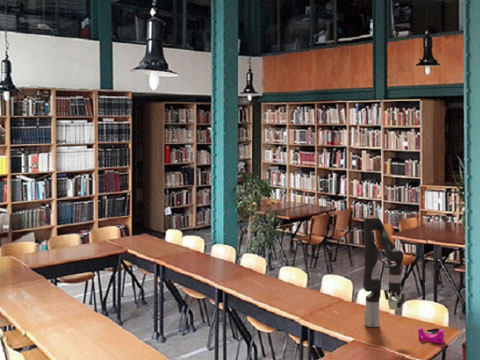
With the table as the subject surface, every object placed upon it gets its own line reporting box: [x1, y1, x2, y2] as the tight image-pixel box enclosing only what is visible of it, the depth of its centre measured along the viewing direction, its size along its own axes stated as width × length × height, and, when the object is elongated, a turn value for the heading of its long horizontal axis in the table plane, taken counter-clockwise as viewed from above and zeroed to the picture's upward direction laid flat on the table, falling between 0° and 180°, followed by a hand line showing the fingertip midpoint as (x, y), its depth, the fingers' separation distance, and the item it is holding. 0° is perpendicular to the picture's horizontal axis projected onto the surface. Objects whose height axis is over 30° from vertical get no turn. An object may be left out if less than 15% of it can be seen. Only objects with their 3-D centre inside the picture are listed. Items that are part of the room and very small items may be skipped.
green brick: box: [388, 297, 399, 311], centre depth 351 cm, size 4×9×5 cm, turn 151°
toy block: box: [417, 326, 445, 345], centre depth 351 cm, size 15×6×8 cm, turn 65°
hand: (394, 307), depth 351 cm, fingers closed on green brick, 5 cm apart
